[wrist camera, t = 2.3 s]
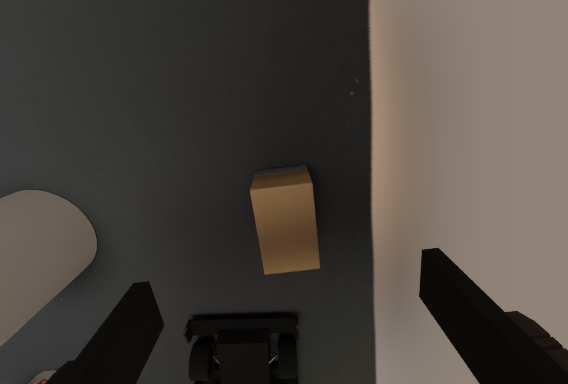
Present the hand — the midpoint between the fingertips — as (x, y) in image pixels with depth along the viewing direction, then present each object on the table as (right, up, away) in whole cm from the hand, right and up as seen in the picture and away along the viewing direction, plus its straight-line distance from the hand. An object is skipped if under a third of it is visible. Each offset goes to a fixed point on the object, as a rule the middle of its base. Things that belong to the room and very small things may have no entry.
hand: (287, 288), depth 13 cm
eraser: (0, +4, +9) cm, 10 cm away
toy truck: (-4, -16, +17) cm, 24 cm away
